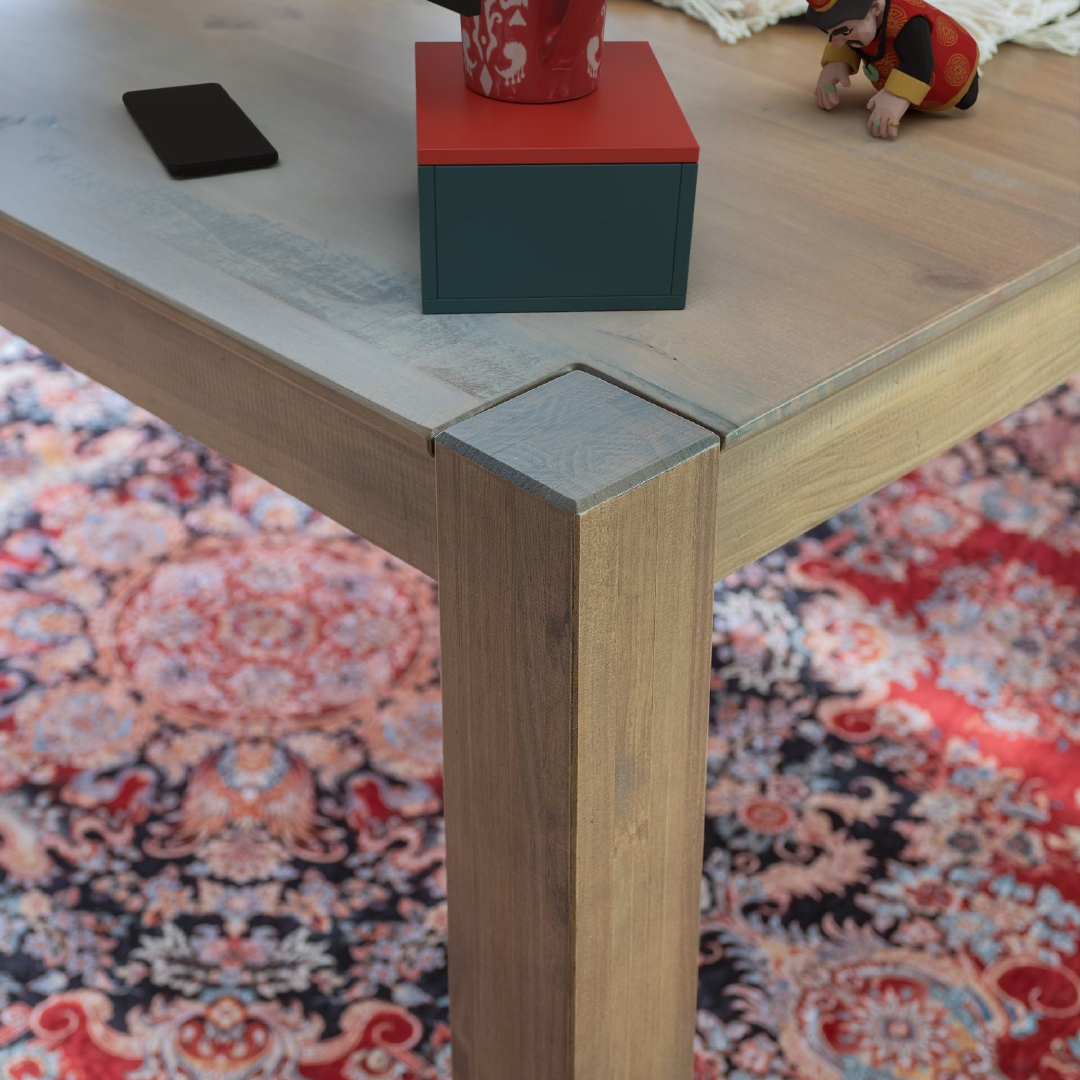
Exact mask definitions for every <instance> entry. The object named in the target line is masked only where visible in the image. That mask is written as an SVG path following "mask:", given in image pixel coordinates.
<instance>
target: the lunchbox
mask: <svg viewBox="0 0 1080 1080" xmlns="http://www.w3.org/2000/svg"><path fill="white" fill-rule="evenodd" d="M416 163H417V162H416ZM416 165H417V166H416V167H417V194H418V225H419V227H418V228H419V254H420V255H419V256H420V286H421V287H420V288H421V289H420V291H421V313H422V314H471V313H472V314H473V313H475V314H477V313H481V314H483V313H531V312H533V313H535V312H537V313H539V312H588V311H589V312H590V311H591V312H592V311H593V312H595V311H645V310H646V311H647V310H648V311H650V310H652V311H653V310H685V309H686V302H687V292H688V291H687V290H688V281H689V271H690V270H689V268H690V260H691V251H692V250H691V248H692V238H693V237H692V236H693V226H694V215H695V205H696V194H697V182H698V174H699V173H698V172H699V163H698V162H662V163H552V164H442V165H419V164H418V163H417V164H416Z"/></svg>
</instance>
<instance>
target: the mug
mask: <svg viewBox="0 0 1080 1080" xmlns="http://www.w3.org/2000/svg"><path fill="white" fill-rule="evenodd" d="M607 4H608V0H481V15H478V16H473V17H466V16H463V15H461V14H459V21H460V35H461V36H460V37H461V42H462V55H463V70H464V78H465V82H466V84H467V86H468V87H469V88H470V89H472V90H473V91H475V92H477V93H479V94H482V95H485V96H488V97H491V98H495V99H499V100H506V101H512V102H524V103H542V102H555V101H562V100H568V99H573V98H578V97H581V96H583V95H586V94H588V93H590V92H592V91H593V90H594V89H596V88H597V86H598V85H599V81H600V74H601V63H602V52H603V41H604V40H605V39H604V38H605V26H606V16H607V6H608V5H607Z"/></svg>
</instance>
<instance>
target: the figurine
mask: <svg viewBox="0 0 1080 1080" xmlns="http://www.w3.org/2000/svg"><path fill="white" fill-rule="evenodd" d="M805 2H806V3H807V4H808V5H807V7H806V8H807V9H806V11H805V17H806V20H807V21H808V23H810V24H811V25H813V26H815V27H816V28H817V29H819V30H820V31H821V32H823V33H824V34H826V35H829V37H828V42H827V43H826V44H825V46H824V49H823V54H822V56H821V60H820V66H821V68H822V69H821V71H820V72H819V76H818V79H817V82H816V86H815V90H814V96H815V99H816V103H817V105H819V107H820V108H821V109H826V110H827V111H830V110H831V109H834V108H836V105H838V104H839V103H840V100H839V97H838V94H837V92H838V90H837V89H838V88H837V84H839V83H840V86H841V87H843V88H844V89H845V88H850V86H851V80H850V76H854V75H857V74H858V73H859V71H860V66H861V62H862V64H863V65H862V66H861V67H862V71H863V75H864V76H865V77H866V78H867V79H868V80H869V81H870V83H871V85H872V86H873V88H874V89H875V90H876V91H877V93H876V94H874V96H872V97H871V99H869V100H868V103H867V104H866V109H868V110H870V111H872V112H871V114H870V116H869V117H868V118H869V119H868V121H867V125H866V126H867V127H866V128H867V130H869V131H872V132H871V135H872V137H876V138H878V137H881V138H883V139H884V138H887V137H890V138H892V139H893V138H895V137H896V136H897V135H898V128H899V126H900V122H899V121H900V120H901V118H902V117H903V115H904V114H905V112H907V110H908V108H909V109H913V110H920V111H926V112H933V113H934V112H944V111H946V110H949V109H952V108H955V109H959V110H960V111H967V110H968V109H970V108H971V107H973V106H974V105H975V104H976V102H977V101H978V100H977V99H978V95H979V92H980V91H979V89H980V87H979V80H980V75H979V69H978V67H979V62H980V55H981V52H980V48H979V44H978V42H977V41H976V40H975V38H974V37H973V36H972V35H971V34H970V33H969V31H968V30H967V29H966V28H965V27H963V26H962V25H961V23H959V22H958V21H956V20H955V18H953V17H952V16H951V15H949V14H948V13H945V12H944V11H942V10H941V9H939V8H937V7H936V6H933V5H932V4H930V3H929V2H927V1H925V0H805Z"/></svg>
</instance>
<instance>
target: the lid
mask: <svg viewBox="0 0 1080 1080" xmlns="http://www.w3.org/2000/svg"><path fill="white" fill-rule="evenodd" d="M414 68H415V69H414V71H415V75H414V76H415V79H414V80H415V120H416V121H415V122H416V123H415V124H416V125H415V126H416V127H415V128H416V163H418V164H419V165H442V164H552V163H662V162H697V163H698V162H699V159H700V149H701V147H700V145H699V143H698V141H697V139H696V137H695V134H694V132H693V130H692V128H691V126H690V124H689V122H688V120H687V119H686V116H685V115H684V112H683V110H682V108H681V106H680V104H679V101H678V100H677V98H676V96H675V93H674V92H673V90H672V88H671V86H670V84H669V82H668V80H667V77H666V75H665V73H664V72H663V69H662V67H661V65H660V62H659V61H658V59H657V57H656V55H655V53H654V50H653V48H652V47H651V45H650V42H649V41H648V40H612V41H610V40H603V52H602V63H601V74H600V81H599V85H598V86H597V88H596V89H594V90H593V91H592V92H590V93H588V94H586V95H583V96H581V97H578V98H573V99H568V100H562V101H555V102H542V103H524V102H512V101H506V100H499V99H495V98H491V97H488V96H485V95H482V94H479V93H477V92H475V91H473V90H472V89H470V88H469V87H468V86H467V84H466V82H465V78H464V70H463V55H462V41H414Z"/></svg>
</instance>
